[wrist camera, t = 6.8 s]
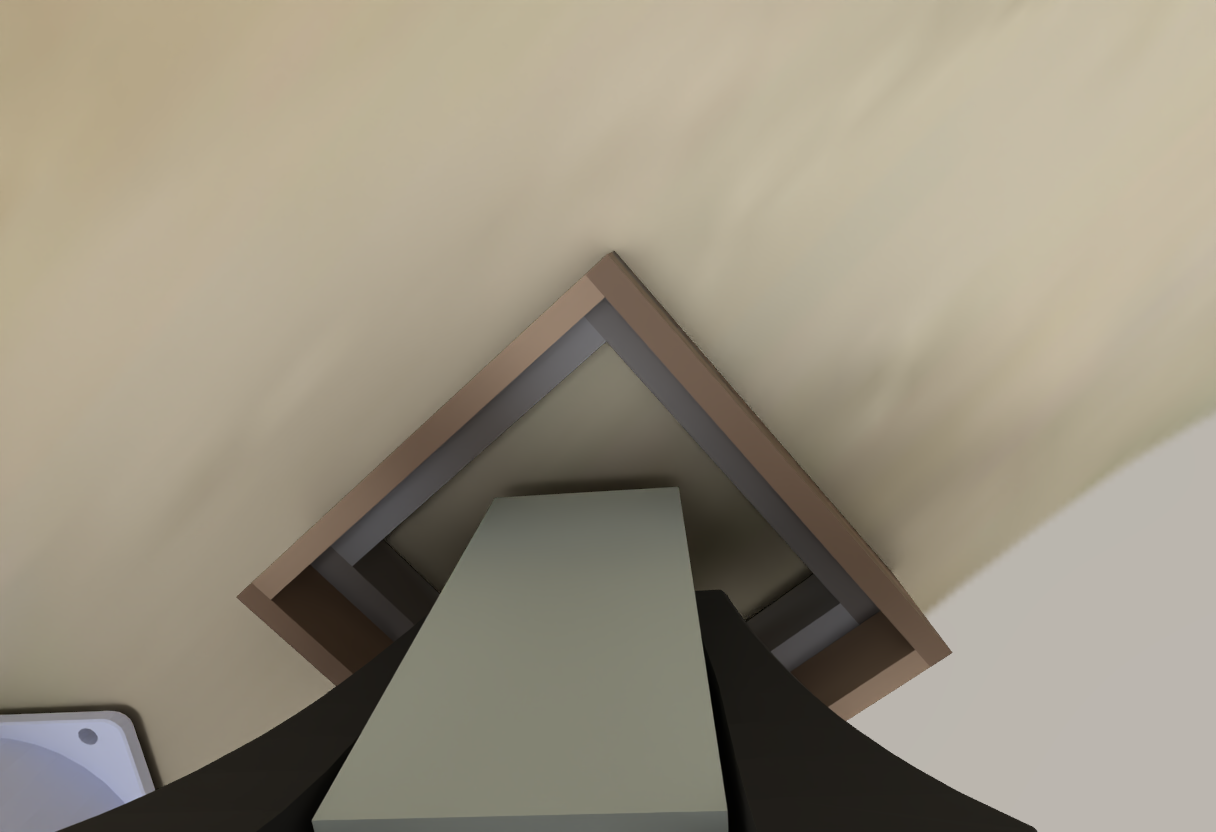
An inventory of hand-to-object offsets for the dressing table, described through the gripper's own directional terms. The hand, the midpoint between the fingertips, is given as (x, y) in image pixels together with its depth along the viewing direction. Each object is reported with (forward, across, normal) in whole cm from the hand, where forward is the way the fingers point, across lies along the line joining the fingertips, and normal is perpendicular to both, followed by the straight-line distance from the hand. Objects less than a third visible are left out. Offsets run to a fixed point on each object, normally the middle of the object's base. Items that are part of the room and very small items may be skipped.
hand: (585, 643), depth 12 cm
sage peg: (+2, 0, 0) cm, 2 cm away
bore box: (+4, 0, 0) cm, 4 cm away
